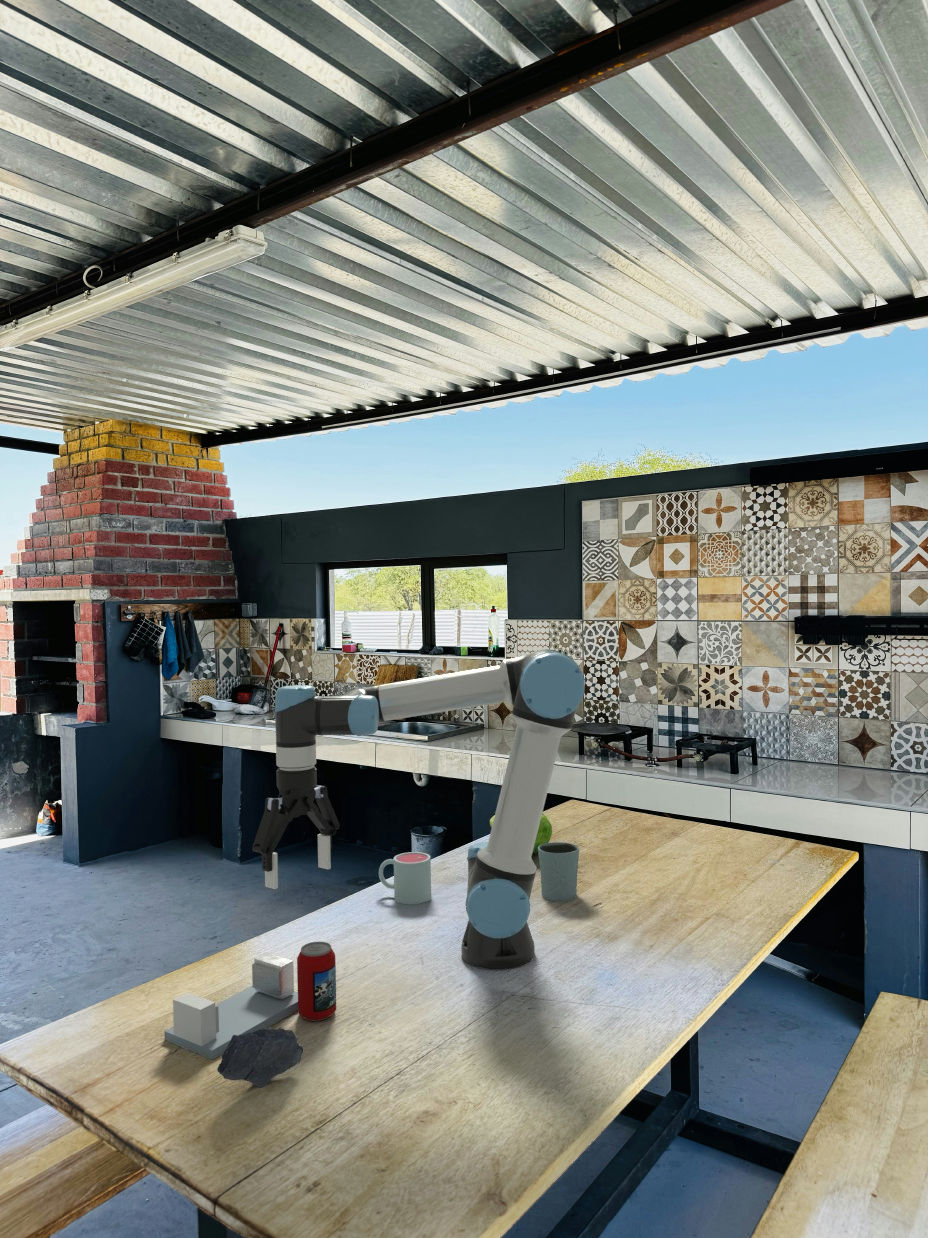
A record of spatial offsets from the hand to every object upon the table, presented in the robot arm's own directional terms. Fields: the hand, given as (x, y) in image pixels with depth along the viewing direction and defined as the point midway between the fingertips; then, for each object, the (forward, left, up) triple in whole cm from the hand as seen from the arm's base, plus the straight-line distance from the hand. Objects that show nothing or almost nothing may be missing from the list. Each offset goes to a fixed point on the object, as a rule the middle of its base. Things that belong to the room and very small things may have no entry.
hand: (299, 877), depth 160 cm
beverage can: (-10, +7, -21) cm, 24 cm away
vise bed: (0, +16, -21) cm, 26 cm away
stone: (-19, +28, -21) cm, 40 cm away
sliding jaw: (0, +7, -19) cm, 21 cm away
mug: (+13, -49, -21) cm, 55 cm away
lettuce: (+6, -96, -21) cm, 99 cm away
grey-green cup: (-20, -69, -21) cm, 75 cm away
